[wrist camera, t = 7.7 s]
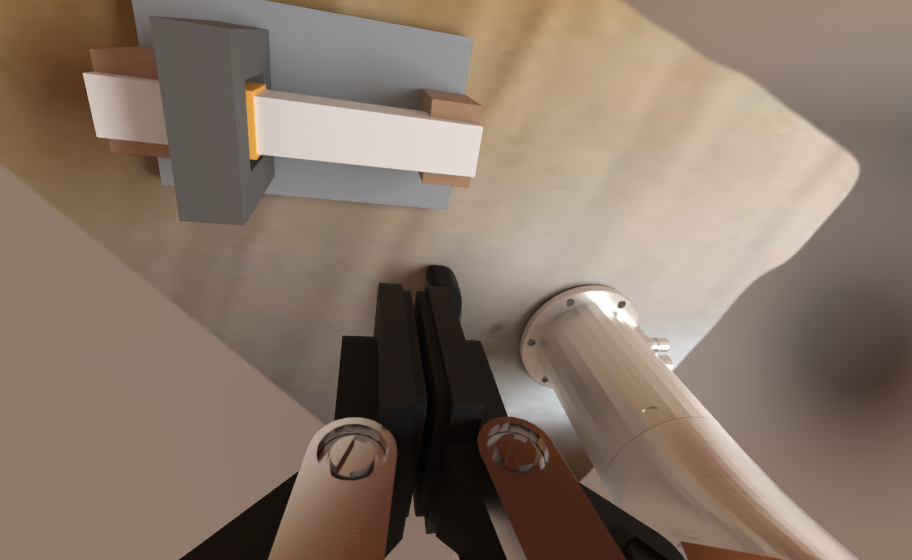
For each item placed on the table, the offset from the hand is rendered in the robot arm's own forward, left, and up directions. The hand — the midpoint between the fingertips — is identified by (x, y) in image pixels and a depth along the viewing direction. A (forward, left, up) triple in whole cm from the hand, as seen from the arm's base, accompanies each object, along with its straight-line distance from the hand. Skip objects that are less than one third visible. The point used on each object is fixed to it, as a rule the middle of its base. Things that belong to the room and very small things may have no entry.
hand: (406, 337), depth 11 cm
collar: (+9, -1, -23) cm, 25 cm away
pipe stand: (+4, -1, -25) cm, 26 cm away
